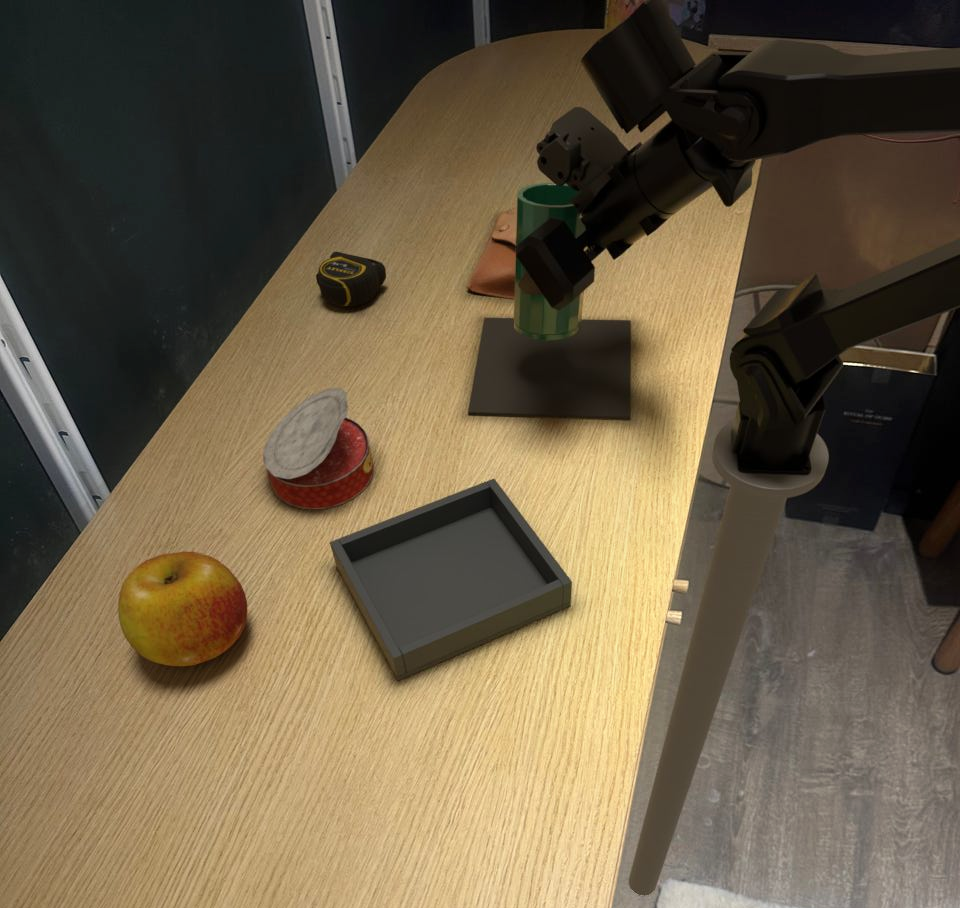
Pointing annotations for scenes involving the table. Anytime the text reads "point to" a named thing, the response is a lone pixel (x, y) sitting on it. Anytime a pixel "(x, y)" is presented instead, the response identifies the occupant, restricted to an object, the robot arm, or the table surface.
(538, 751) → the table surface
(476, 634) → the tray
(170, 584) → the fruit
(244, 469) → the table surface
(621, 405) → the mat
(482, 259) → the sunglasses case
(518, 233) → the cup
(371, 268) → the tape measure
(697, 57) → the table surface
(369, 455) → the canned food
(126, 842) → the table surface
